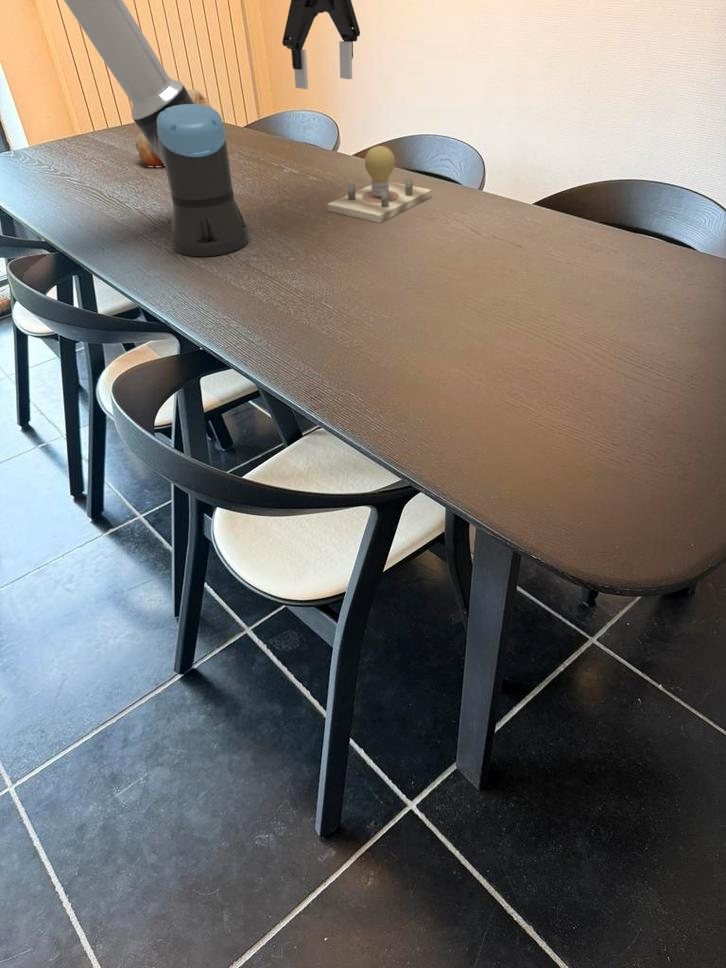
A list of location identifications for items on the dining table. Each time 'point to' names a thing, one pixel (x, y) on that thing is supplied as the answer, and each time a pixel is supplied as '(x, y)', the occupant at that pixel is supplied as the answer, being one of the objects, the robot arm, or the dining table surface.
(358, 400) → the dining table surface
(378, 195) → the light bulb
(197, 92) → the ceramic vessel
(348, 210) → the pin nest
